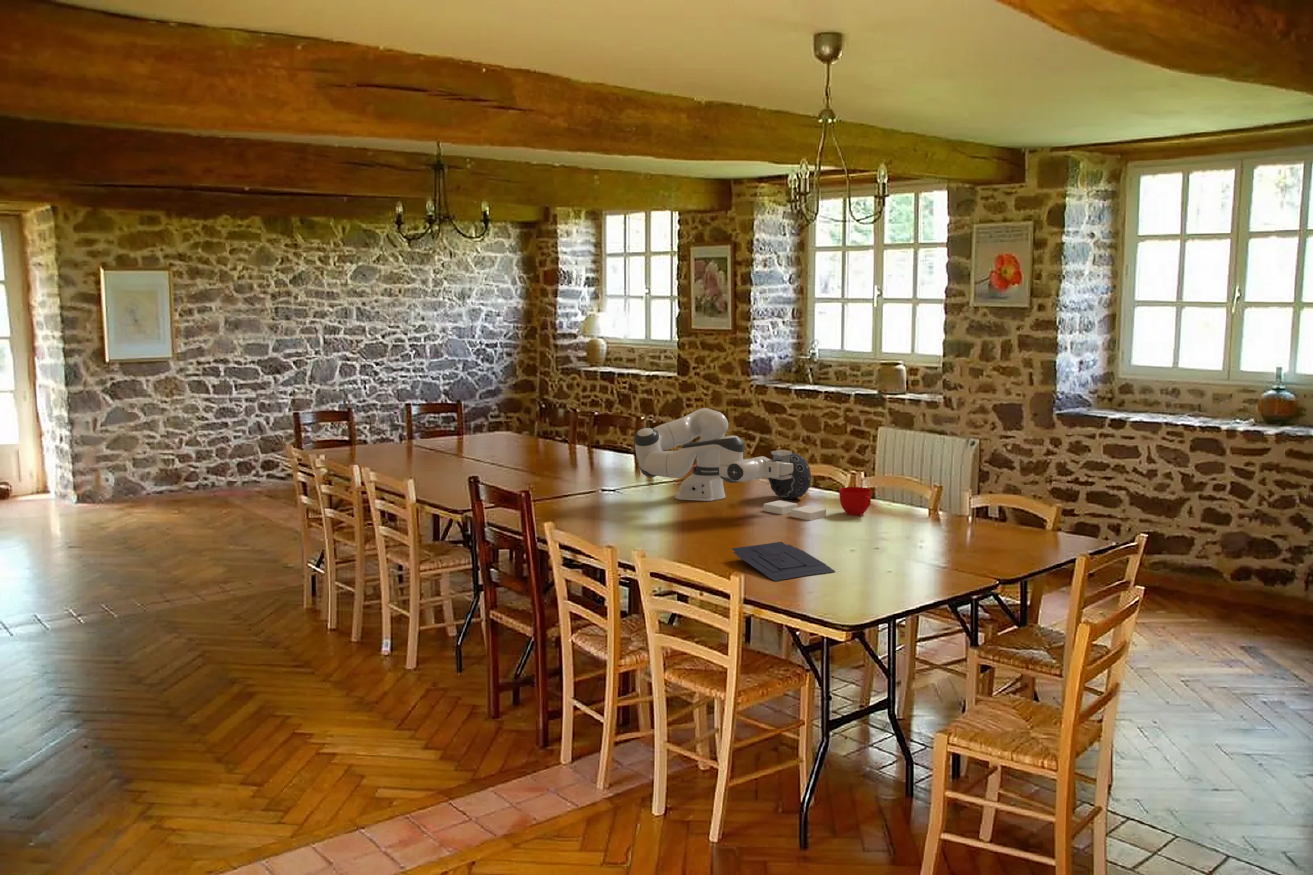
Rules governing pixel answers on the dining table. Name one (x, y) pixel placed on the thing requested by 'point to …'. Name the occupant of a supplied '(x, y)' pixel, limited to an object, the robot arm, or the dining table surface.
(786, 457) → the housing
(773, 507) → the stand
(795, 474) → the dark grey rounded piece
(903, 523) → the dining table surface
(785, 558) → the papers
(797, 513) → the stand
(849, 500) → the ceramic cup
